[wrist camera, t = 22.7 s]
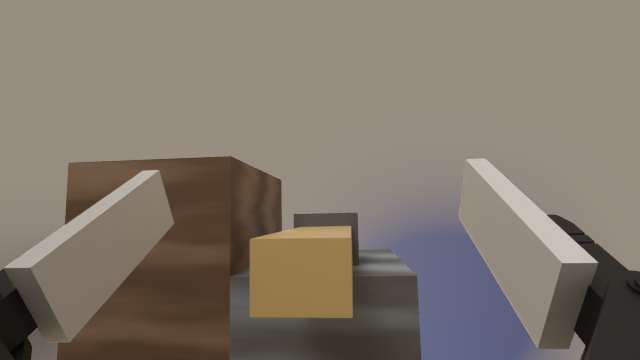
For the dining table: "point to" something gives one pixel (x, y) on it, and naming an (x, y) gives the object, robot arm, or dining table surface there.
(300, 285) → the block
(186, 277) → the stand
